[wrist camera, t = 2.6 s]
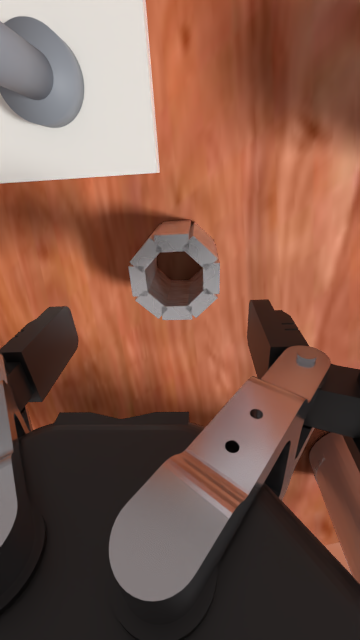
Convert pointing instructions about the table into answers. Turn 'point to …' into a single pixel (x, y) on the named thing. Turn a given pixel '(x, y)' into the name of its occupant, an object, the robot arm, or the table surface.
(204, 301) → the ring
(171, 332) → the table surface
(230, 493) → the robot arm
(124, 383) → the table surface
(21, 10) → the shaft block
